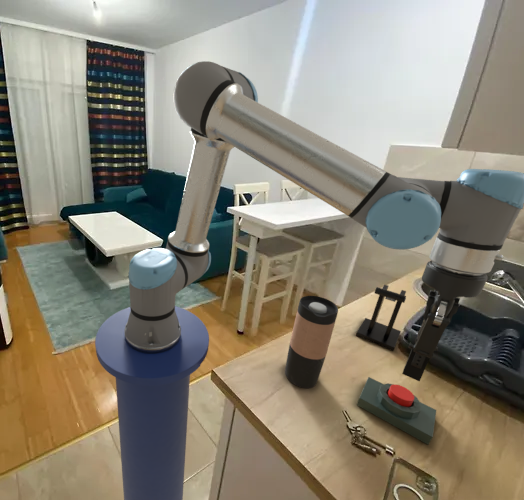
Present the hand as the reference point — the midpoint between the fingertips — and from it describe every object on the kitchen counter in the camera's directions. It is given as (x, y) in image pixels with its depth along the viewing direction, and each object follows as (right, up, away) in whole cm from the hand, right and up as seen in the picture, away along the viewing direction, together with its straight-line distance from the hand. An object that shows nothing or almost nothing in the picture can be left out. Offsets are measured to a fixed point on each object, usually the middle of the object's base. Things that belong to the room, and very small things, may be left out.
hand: (411, 375), depth 56 cm
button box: (0, -9, +4) cm, 10 cm away
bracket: (+13, 0, +27) cm, 30 cm away
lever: (+9, +12, +18) cm, 24 cm away
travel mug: (-16, -6, +12) cm, 21 cm away
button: (0, -6, +3) cm, 6 cm away
